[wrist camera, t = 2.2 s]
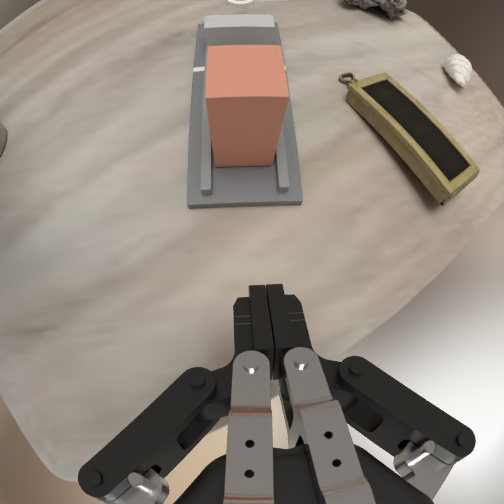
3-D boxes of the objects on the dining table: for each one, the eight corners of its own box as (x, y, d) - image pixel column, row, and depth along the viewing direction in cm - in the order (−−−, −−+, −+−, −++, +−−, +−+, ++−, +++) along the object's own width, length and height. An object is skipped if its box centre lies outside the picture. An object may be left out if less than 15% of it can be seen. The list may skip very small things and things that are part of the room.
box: (434, 216, 32) (454, 197, 27) (321, 95, 38) (326, 69, 33) (464, 188, 33) (483, 169, 28) (360, 81, 39) (367, 57, 35)
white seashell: (442, 84, 38) (457, 67, 32) (438, 64, 39) (452, 47, 33) (465, 98, 38) (481, 83, 32) (461, 77, 39) (475, 62, 33)
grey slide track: (300, 204, 33) (313, 183, 26) (189, 208, 32) (178, 187, 26) (276, 28, 37) (280, -1, 31) (198, 29, 37) (195, 0, 31)
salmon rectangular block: (272, 165, 32) (289, 96, 20) (215, 167, 31) (205, 98, 19) (268, 119, 33) (280, 45, 21) (215, 121, 32) (207, 46, 20)
